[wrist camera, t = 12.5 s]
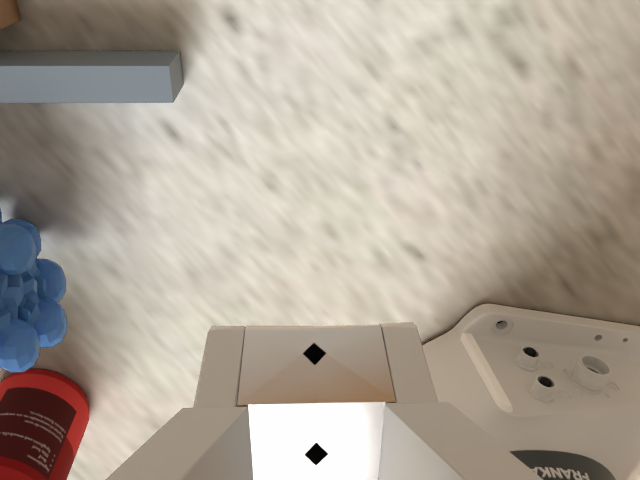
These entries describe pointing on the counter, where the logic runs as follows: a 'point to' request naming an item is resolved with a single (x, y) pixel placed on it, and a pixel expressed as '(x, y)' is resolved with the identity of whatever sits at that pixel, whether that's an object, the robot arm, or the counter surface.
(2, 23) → the t block
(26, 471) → the canned food
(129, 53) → the bay
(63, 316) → the grapes
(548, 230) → the counter surface
